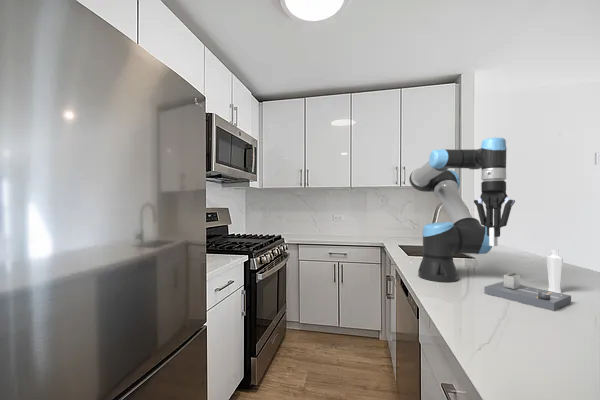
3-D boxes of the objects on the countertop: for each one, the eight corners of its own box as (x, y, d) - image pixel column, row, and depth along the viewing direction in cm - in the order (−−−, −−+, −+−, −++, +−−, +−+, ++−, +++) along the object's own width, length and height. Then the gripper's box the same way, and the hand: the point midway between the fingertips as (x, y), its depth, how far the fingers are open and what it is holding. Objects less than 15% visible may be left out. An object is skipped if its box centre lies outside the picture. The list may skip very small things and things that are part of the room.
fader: (503, 286, 99) (503, 274, 99) (510, 284, 102) (510, 272, 102) (513, 288, 97) (513, 275, 97) (520, 286, 99) (520, 274, 99)
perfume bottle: (567, 293, 102) (567, 251, 102) (554, 293, 102) (554, 250, 102) (556, 289, 106) (556, 249, 107) (544, 289, 106) (544, 248, 107)
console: (484, 293, 100) (484, 281, 100) (503, 287, 108) (503, 277, 108) (553, 311, 84) (553, 297, 84) (571, 303, 91) (571, 290, 91)
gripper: (469, 181, 108) (469, 244, 108) (509, 178, 97) (509, 248, 97) (480, 182, 112) (479, 242, 112) (519, 180, 101) (519, 247, 101)
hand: (493, 245), depth 104 cm, fingers closed
